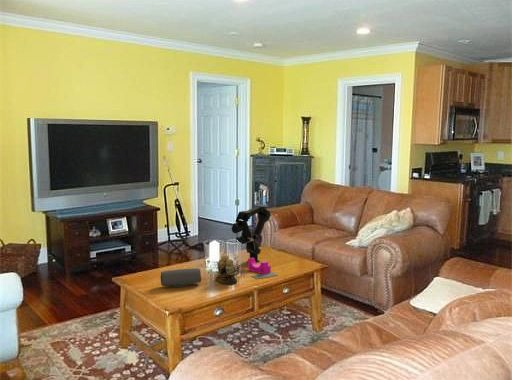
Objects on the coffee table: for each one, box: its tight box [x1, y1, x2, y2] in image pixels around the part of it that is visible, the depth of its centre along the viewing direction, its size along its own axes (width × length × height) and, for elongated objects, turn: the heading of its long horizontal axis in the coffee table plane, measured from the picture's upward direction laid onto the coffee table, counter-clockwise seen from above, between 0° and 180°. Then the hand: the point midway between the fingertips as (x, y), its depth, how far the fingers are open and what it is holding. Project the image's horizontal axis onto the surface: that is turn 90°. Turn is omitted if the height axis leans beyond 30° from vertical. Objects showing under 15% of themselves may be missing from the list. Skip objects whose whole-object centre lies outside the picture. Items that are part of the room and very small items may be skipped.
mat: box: [251, 271, 279, 280], centre depth 288 cm, size 7×16×1 cm, turn 120°
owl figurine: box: [215, 254, 238, 286], centre depth 276 cm, size 18×12×17 cm, turn 35°
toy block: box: [247, 257, 272, 274], centre depth 297 cm, size 15×6×8 cm, turn 43°
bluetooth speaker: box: [160, 268, 202, 288], centre depth 266 cm, size 23×9×10 cm, turn 110°
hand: (254, 250), depth 306 cm, fingers closed
